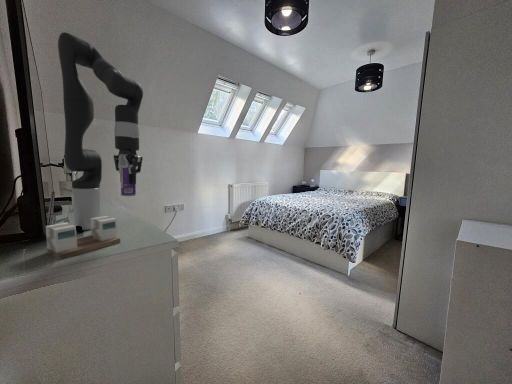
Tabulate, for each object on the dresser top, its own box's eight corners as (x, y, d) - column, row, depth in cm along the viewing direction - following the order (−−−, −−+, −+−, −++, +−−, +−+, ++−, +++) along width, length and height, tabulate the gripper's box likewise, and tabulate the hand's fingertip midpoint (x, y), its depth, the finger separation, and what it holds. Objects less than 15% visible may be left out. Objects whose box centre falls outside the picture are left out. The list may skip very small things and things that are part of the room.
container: (138, 194, 82) (137, 155, 80) (130, 196, 77) (129, 154, 75) (126, 193, 82) (126, 154, 80) (118, 195, 77) (116, 153, 76)
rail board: (47, 252, 67) (45, 225, 66) (106, 237, 82) (105, 215, 80) (60, 259, 62) (58, 231, 61) (120, 242, 77) (119, 219, 76)
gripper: (104, 135, 77) (106, 182, 79) (129, 134, 70) (130, 186, 72) (125, 138, 83) (126, 181, 86) (149, 137, 77) (150, 184, 79)
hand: (128, 183), depth 79 cm, fingers closed on container, 4 cm apart
